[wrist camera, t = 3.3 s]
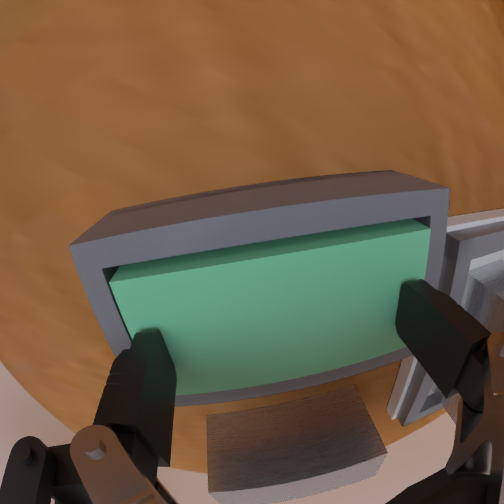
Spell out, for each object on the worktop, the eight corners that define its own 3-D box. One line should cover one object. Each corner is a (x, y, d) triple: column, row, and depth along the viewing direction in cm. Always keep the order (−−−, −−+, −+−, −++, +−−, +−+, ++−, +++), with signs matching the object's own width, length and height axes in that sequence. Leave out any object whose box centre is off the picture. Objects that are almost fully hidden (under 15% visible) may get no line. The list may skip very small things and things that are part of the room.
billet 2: (465, 271, 13) (535, 326, 7) (500, 259, 13) (563, 302, 8) (429, 386, 17) (466, 440, 11) (464, 368, 17) (501, 415, 12)
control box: (111, 211, 11) (68, 245, 7) (391, 170, 12) (449, 188, 8) (157, 348, 14) (145, 407, 10) (384, 307, 15) (421, 351, 11)
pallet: (426, 220, 13) (455, 236, 11) (555, 200, 14) (572, 208, 12) (386, 409, 19) (397, 430, 17) (516, 339, 20) (528, 351, 18)
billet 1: (206, 413, 17) (208, 492, 11) (353, 383, 17) (387, 452, 12) (220, 440, 18) (225, 508, 13) (348, 413, 19) (374, 475, 13)
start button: (123, 260, 9) (109, 282, 7) (406, 215, 9) (430, 228, 8) (164, 369, 11) (160, 396, 9) (393, 325, 11) (410, 345, 10)
